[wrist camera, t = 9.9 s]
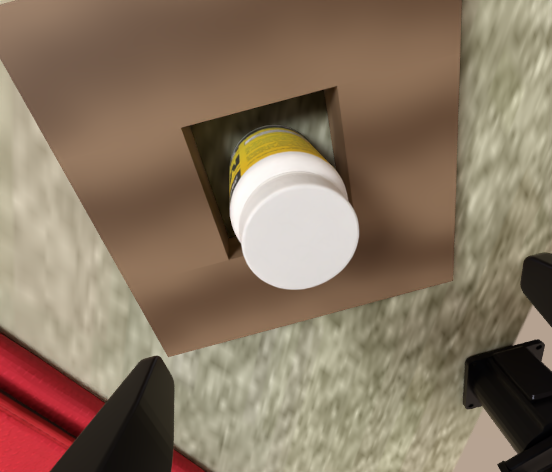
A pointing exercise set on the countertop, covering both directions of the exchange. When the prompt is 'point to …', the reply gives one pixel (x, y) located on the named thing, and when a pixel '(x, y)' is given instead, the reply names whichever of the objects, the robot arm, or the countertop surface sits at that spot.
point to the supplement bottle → (289, 209)
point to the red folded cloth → (44, 413)
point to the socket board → (232, 99)
